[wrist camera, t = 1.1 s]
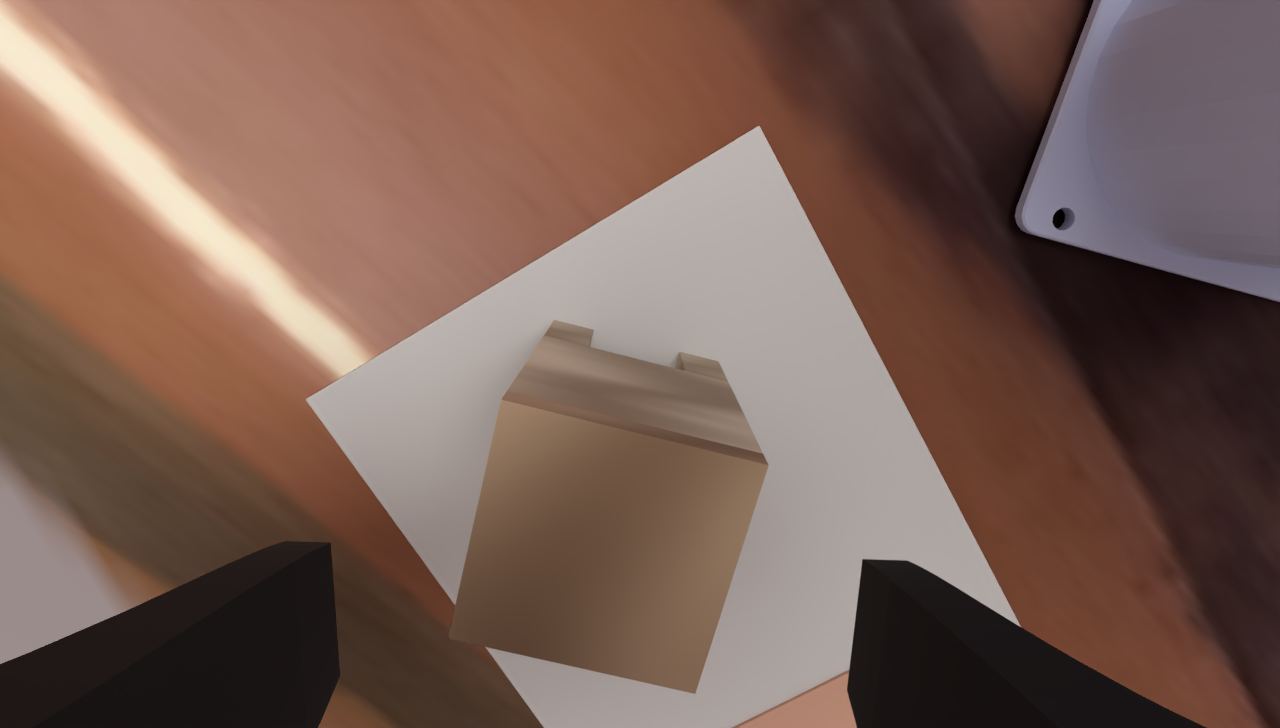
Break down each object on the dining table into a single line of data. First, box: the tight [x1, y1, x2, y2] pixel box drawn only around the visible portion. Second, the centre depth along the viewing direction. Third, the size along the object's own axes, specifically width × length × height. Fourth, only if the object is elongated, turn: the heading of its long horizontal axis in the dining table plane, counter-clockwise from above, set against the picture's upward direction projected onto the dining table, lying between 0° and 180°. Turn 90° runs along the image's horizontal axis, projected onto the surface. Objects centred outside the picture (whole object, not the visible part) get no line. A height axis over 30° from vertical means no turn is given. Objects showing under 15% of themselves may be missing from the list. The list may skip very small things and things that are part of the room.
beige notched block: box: [448, 320, 769, 694], centre depth 15 cm, size 4×4×7 cm
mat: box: [306, 126, 1021, 728], centre depth 20 cm, size 23×13×1 cm, turn 30°
